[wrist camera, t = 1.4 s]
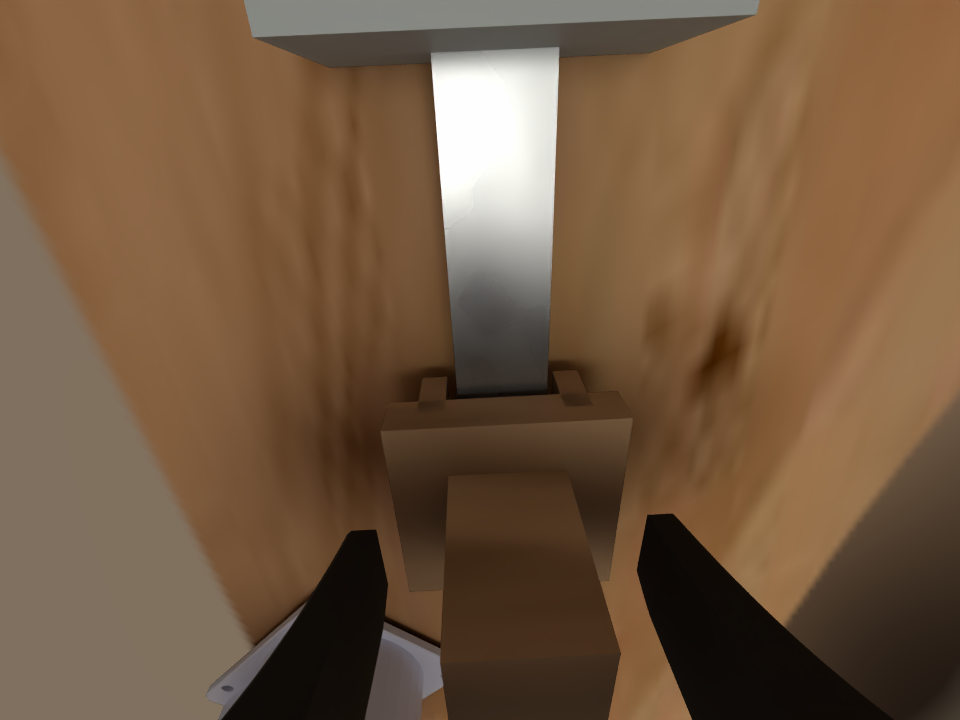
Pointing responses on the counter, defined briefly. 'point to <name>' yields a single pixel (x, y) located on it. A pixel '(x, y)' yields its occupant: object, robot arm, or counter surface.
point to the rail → (498, 213)
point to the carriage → (514, 541)
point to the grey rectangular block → (481, 26)
